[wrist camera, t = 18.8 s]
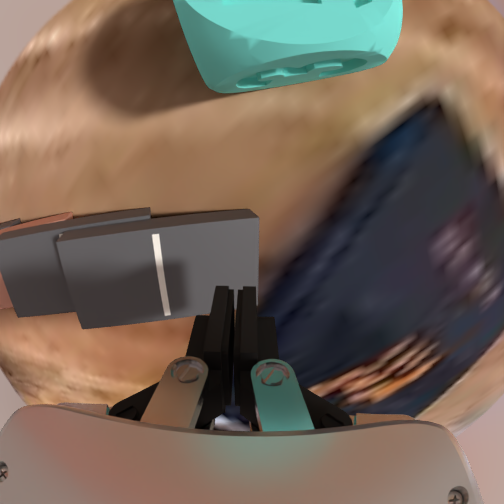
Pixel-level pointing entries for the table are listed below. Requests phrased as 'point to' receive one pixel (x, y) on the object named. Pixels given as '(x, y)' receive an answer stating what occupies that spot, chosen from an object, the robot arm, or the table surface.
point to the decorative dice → (286, 39)
